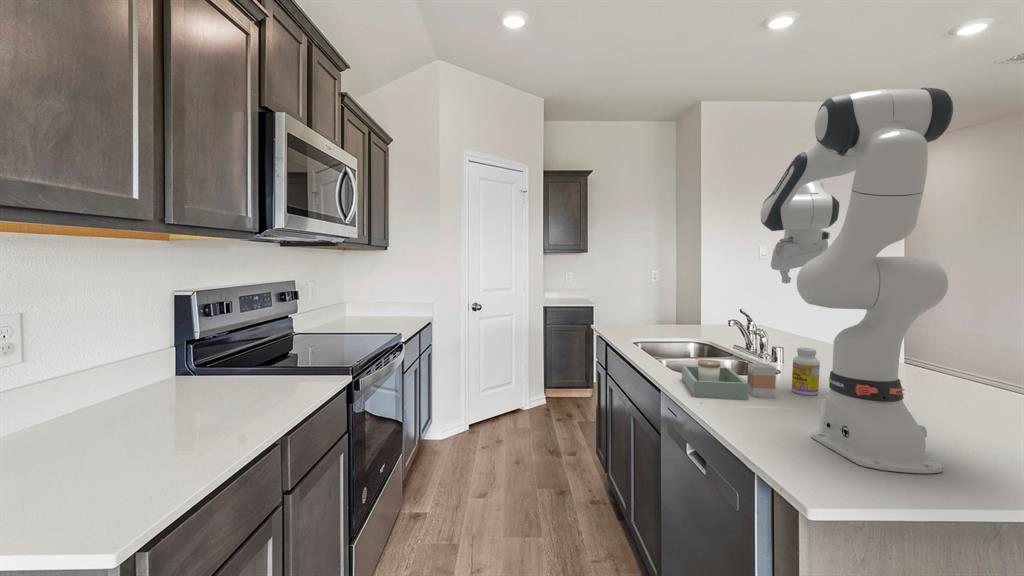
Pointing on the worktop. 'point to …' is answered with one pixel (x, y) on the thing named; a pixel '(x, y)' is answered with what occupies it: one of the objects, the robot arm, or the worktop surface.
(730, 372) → the tray
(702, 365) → the ceramic jar
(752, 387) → the tea tin
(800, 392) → the supplement bottle
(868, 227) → the robot arm
